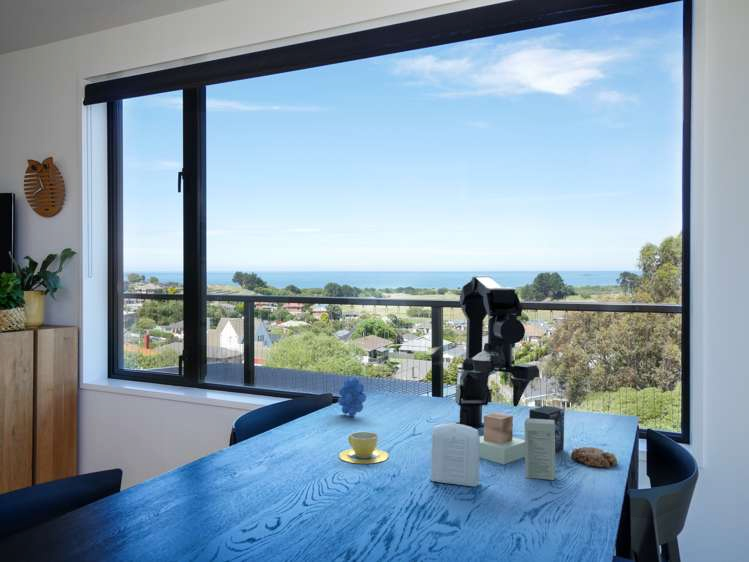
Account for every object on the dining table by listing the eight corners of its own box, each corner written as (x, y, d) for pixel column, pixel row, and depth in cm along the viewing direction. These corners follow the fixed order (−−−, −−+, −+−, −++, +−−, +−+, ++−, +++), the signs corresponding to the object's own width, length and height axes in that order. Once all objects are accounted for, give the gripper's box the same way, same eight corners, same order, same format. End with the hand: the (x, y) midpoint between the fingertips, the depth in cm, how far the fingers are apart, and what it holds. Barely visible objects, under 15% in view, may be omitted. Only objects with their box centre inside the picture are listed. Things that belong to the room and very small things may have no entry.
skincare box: (555, 474, 133) (556, 419, 133) (554, 481, 129) (555, 424, 128) (525, 471, 135) (526, 417, 135) (523, 477, 131) (524, 421, 131)
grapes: (375, 417, 183) (375, 378, 183) (359, 421, 179) (359, 380, 178) (349, 410, 192) (349, 373, 191) (333, 414, 187) (333, 375, 187)
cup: (398, 457, 145) (399, 435, 145) (364, 469, 136) (364, 445, 136) (363, 447, 153) (363, 425, 153) (328, 457, 144) (328, 434, 144)
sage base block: (493, 448, 154) (493, 432, 154) (527, 457, 147) (527, 440, 146) (469, 456, 147) (469, 439, 147) (504, 466, 140) (504, 448, 140)
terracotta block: (494, 436, 150) (495, 412, 150) (512, 440, 147) (512, 415, 147) (483, 440, 147) (484, 415, 147) (501, 444, 143) (501, 419, 143)
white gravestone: (480, 481, 128) (481, 423, 128) (477, 488, 124) (478, 428, 123) (432, 476, 131) (433, 419, 131) (428, 482, 127) (429, 424, 127)
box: (548, 456, 146) (548, 413, 146) (527, 451, 150) (528, 409, 150) (564, 450, 151) (565, 408, 151) (544, 445, 155) (545, 404, 155)
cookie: (577, 453, 150) (577, 441, 150) (622, 461, 144) (622, 449, 144) (564, 463, 142) (564, 450, 142) (611, 472, 136) (611, 459, 135)
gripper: (448, 338, 147) (448, 401, 148) (514, 345, 134) (513, 415, 134) (476, 335, 155) (475, 395, 155) (540, 341, 142) (539, 407, 142)
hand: (499, 403), depth 146 cm, fingers open, 9 cm apart
